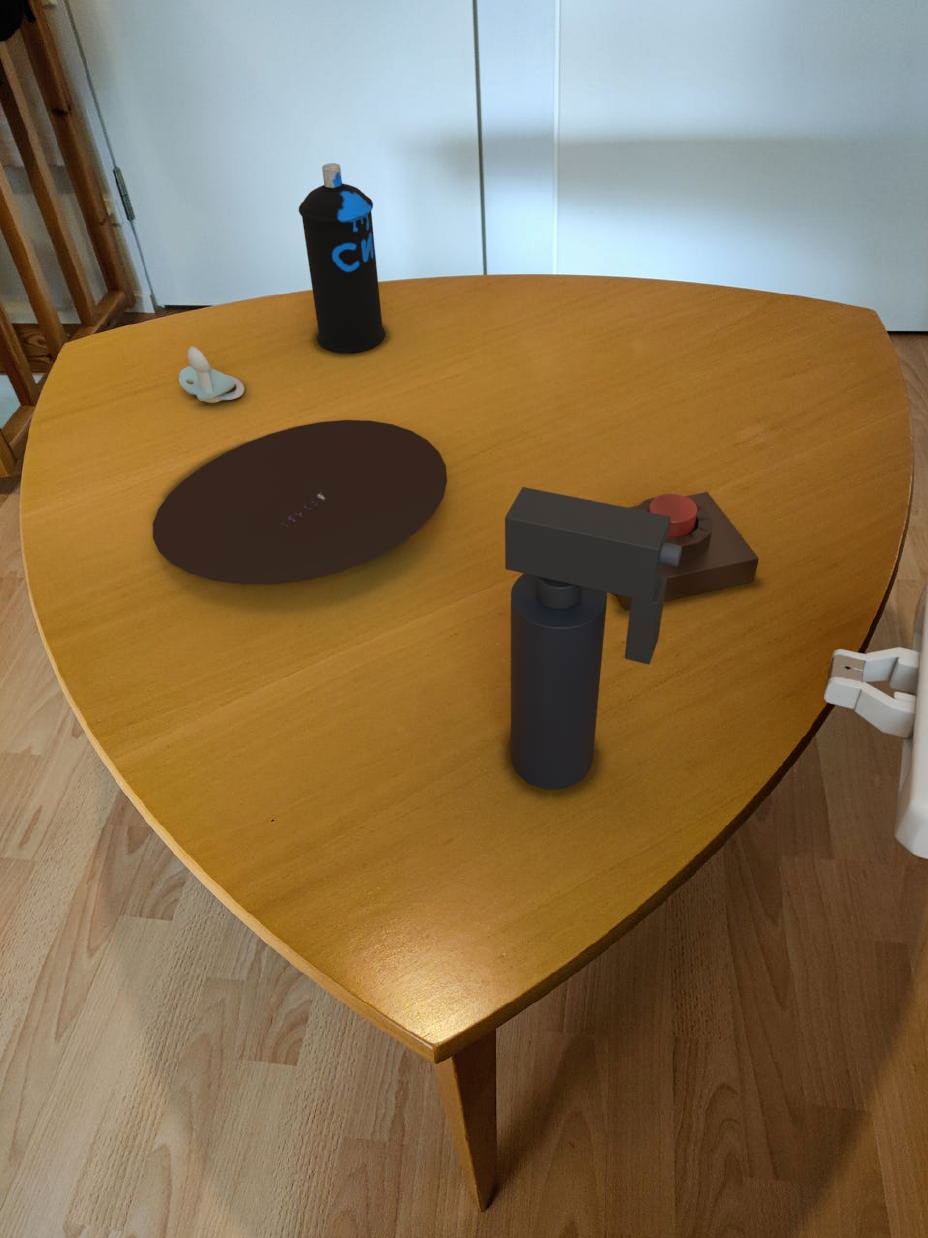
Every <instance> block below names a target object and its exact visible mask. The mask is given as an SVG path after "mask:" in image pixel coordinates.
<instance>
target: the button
mask: <svg viewBox="0 0 928 1238" xmlns="http://www.w3.org/2000/svg"><path fill="white" fill-rule="evenodd" d="M685 496H686V495H682V494H677V493H664V494H661V495H658V496H655V497H653V498H654V499H653V500H652V502H651V503H650V507H649V512H652V513H657V514H662V515H667V516H670V517H671V520H670V528H669V535H668V537H681V536H686V535H688V534H690V533H691V532H692V531H693V529H694V527H695V522H696V515H697V507H696V505H695V503H694V502H693V501H692V500H691V499H689V498H687V497H685Z"/></svg>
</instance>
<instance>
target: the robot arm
mask: <svg viewBox="0 0 928 1238" xmlns="http://www.w3.org/2000/svg"><path fill="white" fill-rule="evenodd" d="M916 603H917V604H916V606H915V611H914V620H913V621H914V622H913V631H912V641H911V649H909V648H905V647H901V646H898V647H894V648H893V647H892V648H887V649H881V650H875V651H870V652H866V653H861V652H857V651H852V650H849V649H844V648H838V649H835V650H834V651H833V652H832V655H831V658H830V661H829V665H828V672H827V678H826V684H825V689H824V694H823V699H824V700H825V702H826V703H828V704H831V705H836V706H840V707H843V708H847V709H851V710H853V711H854V712H855V713H856V714H857V715H859V716H860V717H861V718H863V719H864V720H866V721H867V722H868V723H869V724H871V725H872V726H873V727H875V728H876V729H877V730H879V731H880V732H882V733H883V734H888V735H891V736H896V737H900V738H902V747H901V758H900V768H899V777H898V788H897V797H896V798H897V799H896V809H895V819H894V820H895V822H894V830H893V831H894V832H893V833H894V834H893V835H894V838H895V839H896V841H898V842H899V843H900V844H901V845H902V846H903V847H904V848H905V849H907V850H908V851H909V852H910V853H911V854H912V855H914V856H917V857H919V858H922V859H926V860H928V577H926V580H925V582H924V585H923V587H922V589H921V592H920V595H919V598H918V601H917V602H916ZM884 681H888V687H889V688H890V689H894V690H896V691H895V692H894V693H893V694H892V696H890V695H889V694H886V693H885V692H883V691H882V690H880V689H878V688H876V686H873V685H871V684H870V683H872V682H884ZM897 690H898V691H897ZM901 691H903V692H901Z"/></svg>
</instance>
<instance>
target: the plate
mask: <svg viewBox="0 0 928 1238" xmlns="http://www.w3.org/2000/svg"><path fill="white" fill-rule="evenodd" d="M447 473H448V472H447V465H446V463H445V461H444V459H443V457H442V455H441V453H440V451H439V450H438V449H437V448H436V447H435V446H434V445H433V444H432V443H431V442H430V441H429V440H428V439H426V438H425V437H423V436H421V435H419V434H418V433H416V432H415V431H413V430H410V429H408V428H404V427H403V426H399V425H395V424H392V423H386V422H383V421H382V422H380V421H374V420H367V419H366V420H364V419H363V420H362V419H339V420H329V421H319V422H314V423H313V422H312V423H308V424H304V425H297V426H293V427H290V428H286V429H283V430H279V431H276V432H271V433H269V434H266V435H263V436H260V437H257V438H255V439H252V440H250V441H247V442H245V443H243V444H241V445H239V446H237V447H234V448H232V449H231V450H229V451H226V452H224V453H222V454H220V455H219V456H217V457H215V458H214V459H212V460H211V461H209V462H207V463H205V464H203V465H202V466H200V467H199V468H198V469H196V470H195V471H193V472H192V473H191V474H189V475H188V476H187V477H186V478H184V479H183V480H182V481H181V482H180V483H179V484H178V485H177V486H175V487H174V488H173V489H172V490H171V491H170V492H169V493H168V494H167V496H166V497H165V498H164V500H163V501H162V503H161V504H160V506H159V507H158V508H157V511H156V513H155V516H154V519H153V522H152V539H153V541H154V544H155V546H156V549H157V551H158V553H160V554H161V556H163V557H164V558H165V560H167V561H168V562H169V563H170V564H171V565H173V566H174V567H177V568H179V569H181V570H182V571H184V572H186V573H188V574H190V575H192V576H196V577H199V578H203V579H205V580H208V581H209V580H210V581H213V582H219V583H226V584H227V583H229V584H234V585H235V584H236V585H280V584H288V583H298V582H305V581H310V580H314V579H318V578H322V577H326V576H332V575H335V574H339V573H342V572H344V571H347V570H350V569H353V568H356V567H358V566H361V565H364V564H367V563H369V562H371V561H373V560H375V559H377V558H379V557H382V556H383V555H385V554H386V553H388V552H391V551H393V550H394V549H396V548H397V547H399V546H400V545H402V544H404V542H405V541H407V540H408V539H410V538H411V537H413V536H414V535H415V534H417V533H418V532H419V531H420V530H421V528H422V527H424V526H425V524H427V522H428V521H429V520H431V518H432V517H433V516H434V514H435V513H436V511H437V509H438V508H439V506H440V504H441V503H442V501H443V499H444V496H445V492H446V489H447V486H448V485H447V484H448V474H447Z"/></svg>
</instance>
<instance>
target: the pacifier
mask: <svg viewBox="0 0 928 1238" xmlns="http://www.w3.org/2000/svg"><path fill="white" fill-rule="evenodd" d="M186 354H187V355H186V356H187V361H188V363H189V365H187V366H185V367H184V368H183V369H181V371H179V374H178V381H179V384H180V386H181V388H182V389H183V390H184V391H185V392H187V393H189V394H191V395H194V396H196V397H197V400H199V402H201V401H203V402H205V403H207V404H208V403H209V404H212V403H213V404H215V403H219V402H221V401H231V400H232V401H233V400H235V399H239V398H240V397H241V396H242V395H243V394H245V386H244V384H243V382H242V381H241V380H240V379H238V378H236V377H235V376H232V375H229V374H226V373H223V372H221V371H219V370H217V369H215V368H212V367H211V365H210V363H209V361H208V359H207V358H206V357H205V355H204V354H203V352H202V351H200V349H199V348H197V347H196V346H193V345H191V346H190V347H189V349H188V350H187V353H186ZM188 382H192V384H190V383H188ZM233 388H235V390H233V391H232V392H229V391H231V390H232V389H233Z"/></svg>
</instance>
